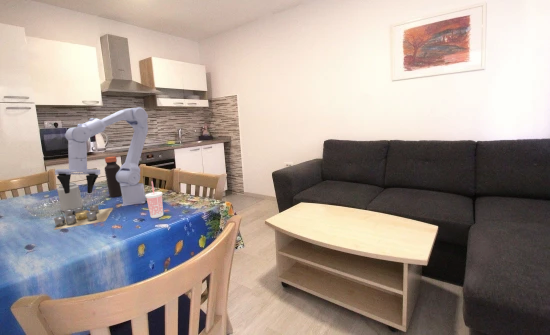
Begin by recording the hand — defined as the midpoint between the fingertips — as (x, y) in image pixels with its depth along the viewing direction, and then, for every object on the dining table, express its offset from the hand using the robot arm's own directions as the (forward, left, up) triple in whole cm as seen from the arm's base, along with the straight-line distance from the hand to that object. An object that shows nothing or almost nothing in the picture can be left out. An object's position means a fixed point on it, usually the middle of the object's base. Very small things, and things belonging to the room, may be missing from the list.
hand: (78, 193), depth 104 cm
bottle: (-7, -32, -11) cm, 35 cm away
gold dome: (0, +1, -10) cm, 10 cm away
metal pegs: (+1, +1, -10) cm, 10 cm away
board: (-1, +1, -11) cm, 11 cm away
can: (+8, -16, -11) cm, 21 cm away
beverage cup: (-27, +12, -11) cm, 32 cm away
